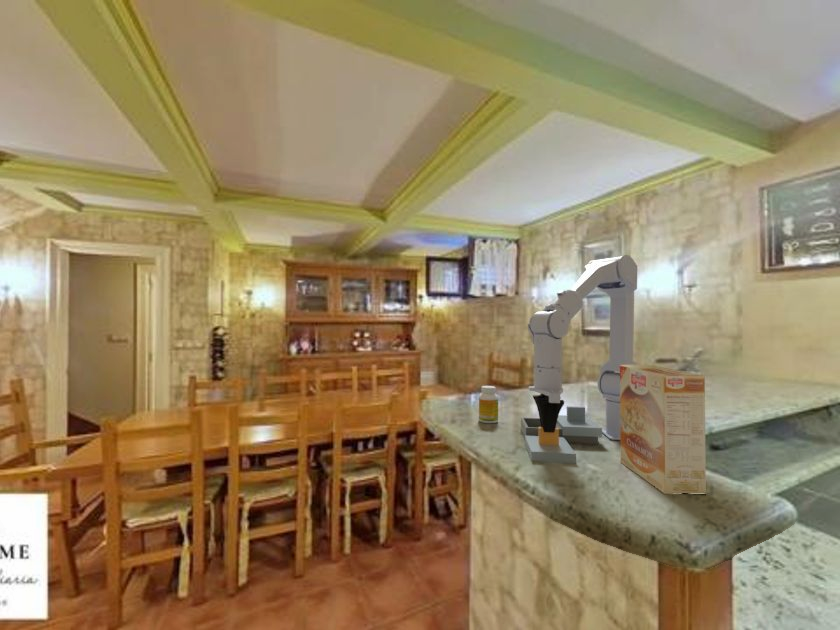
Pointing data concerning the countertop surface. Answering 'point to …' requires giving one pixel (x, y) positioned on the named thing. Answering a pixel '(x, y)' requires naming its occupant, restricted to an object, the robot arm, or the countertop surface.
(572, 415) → the lid segment
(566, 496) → the countertop surface
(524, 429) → the parts tub
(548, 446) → the tabbed lid segment
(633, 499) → the countertop surface
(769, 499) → the countertop surface
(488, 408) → the supplement bottle
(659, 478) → the coffeecake box
